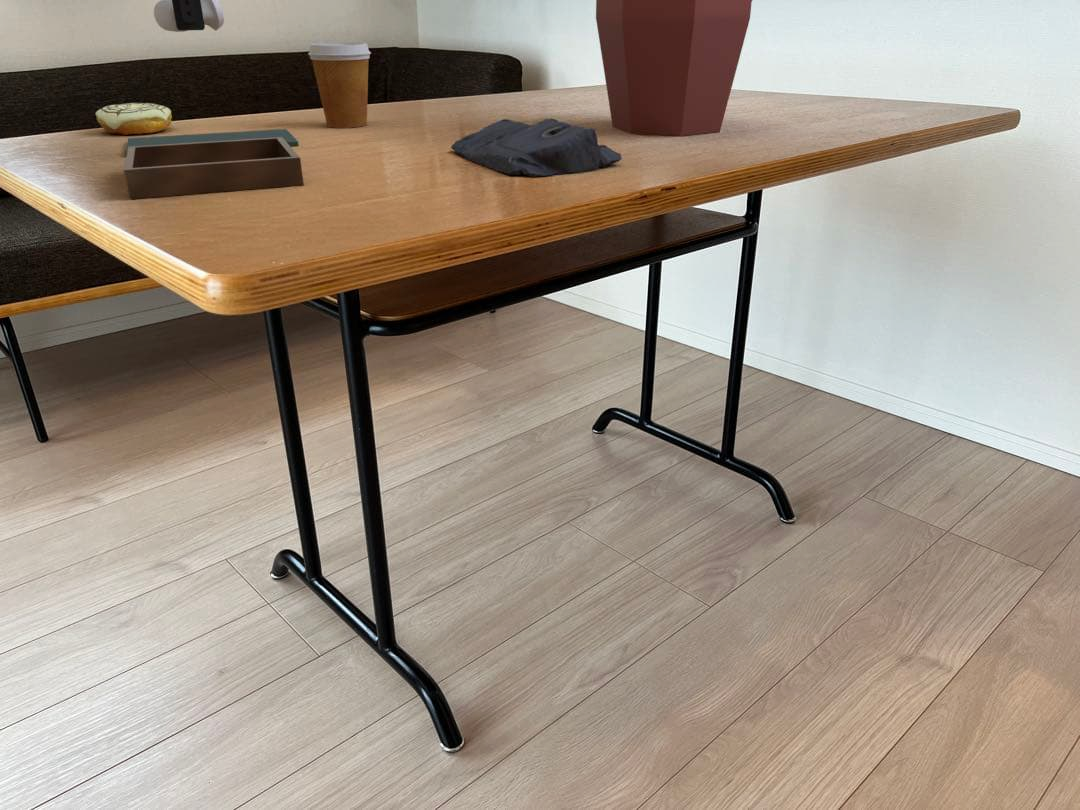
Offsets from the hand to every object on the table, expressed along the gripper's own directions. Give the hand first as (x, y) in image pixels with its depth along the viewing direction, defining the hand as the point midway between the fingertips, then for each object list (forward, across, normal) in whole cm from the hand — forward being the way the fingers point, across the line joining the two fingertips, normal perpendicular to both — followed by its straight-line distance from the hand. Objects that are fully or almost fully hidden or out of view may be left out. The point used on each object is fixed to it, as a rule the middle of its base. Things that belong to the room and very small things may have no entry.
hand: (190, 27), depth 103 cm
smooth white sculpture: (+1, 0, 0) cm, 1 cm away
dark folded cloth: (+15, +20, +38) cm, 46 cm away
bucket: (+15, +3, +66) cm, 68 cm away
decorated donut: (+16, -26, -10) cm, 32 cm away
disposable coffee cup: (+15, -20, +21) cm, 33 cm away
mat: (+15, -8, 0) cm, 17 cm away
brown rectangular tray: (+15, +18, 0) cm, 23 cm away
